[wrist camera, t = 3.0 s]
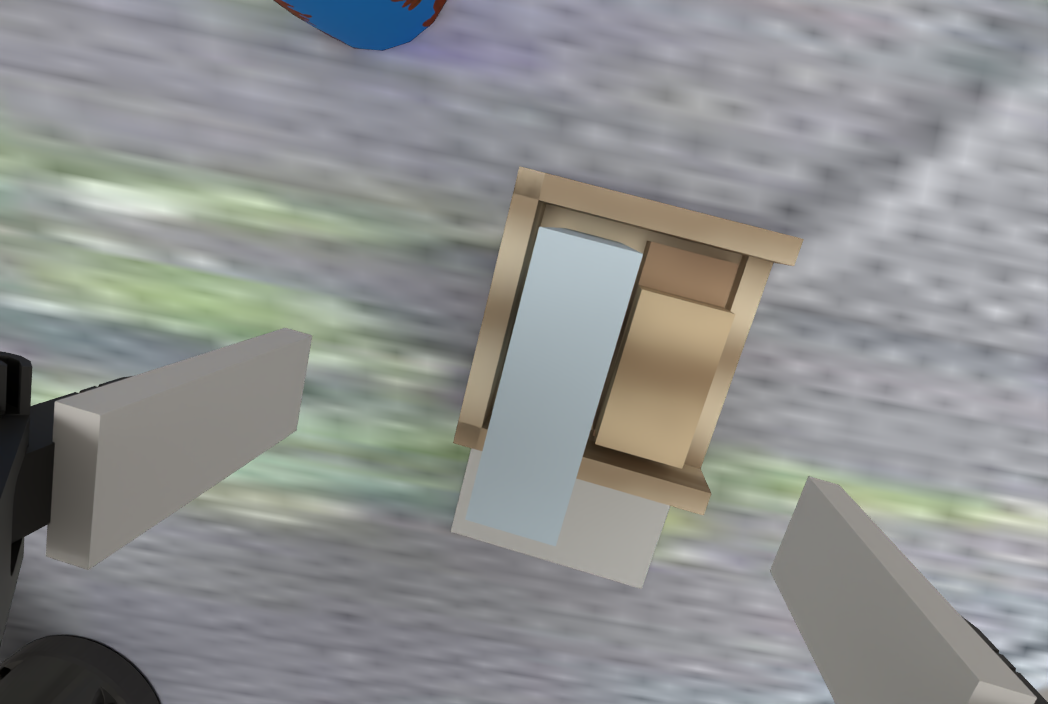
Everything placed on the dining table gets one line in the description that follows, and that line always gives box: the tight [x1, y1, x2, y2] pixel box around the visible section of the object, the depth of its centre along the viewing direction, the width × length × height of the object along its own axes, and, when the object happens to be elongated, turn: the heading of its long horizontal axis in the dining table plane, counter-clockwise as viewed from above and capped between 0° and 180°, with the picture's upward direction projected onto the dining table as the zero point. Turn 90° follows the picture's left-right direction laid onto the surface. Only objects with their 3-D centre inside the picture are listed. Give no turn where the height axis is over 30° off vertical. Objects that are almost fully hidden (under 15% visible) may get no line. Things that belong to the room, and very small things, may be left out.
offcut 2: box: [595, 285, 735, 469], centre depth 33 cm, size 9×5×3 cm, turn 166°
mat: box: [451, 448, 670, 589], centre depth 40 cm, size 7×14×1 cm, turn 76°
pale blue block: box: [465, 227, 643, 546], centre depth 28 cm, size 11×4×17 cm, turn 166°
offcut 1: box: [593, 241, 739, 436], centre depth 35 cm, size 12×5×3 cm, turn 166°
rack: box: [453, 167, 804, 515], centre depth 34 cm, size 16×15×6 cm
